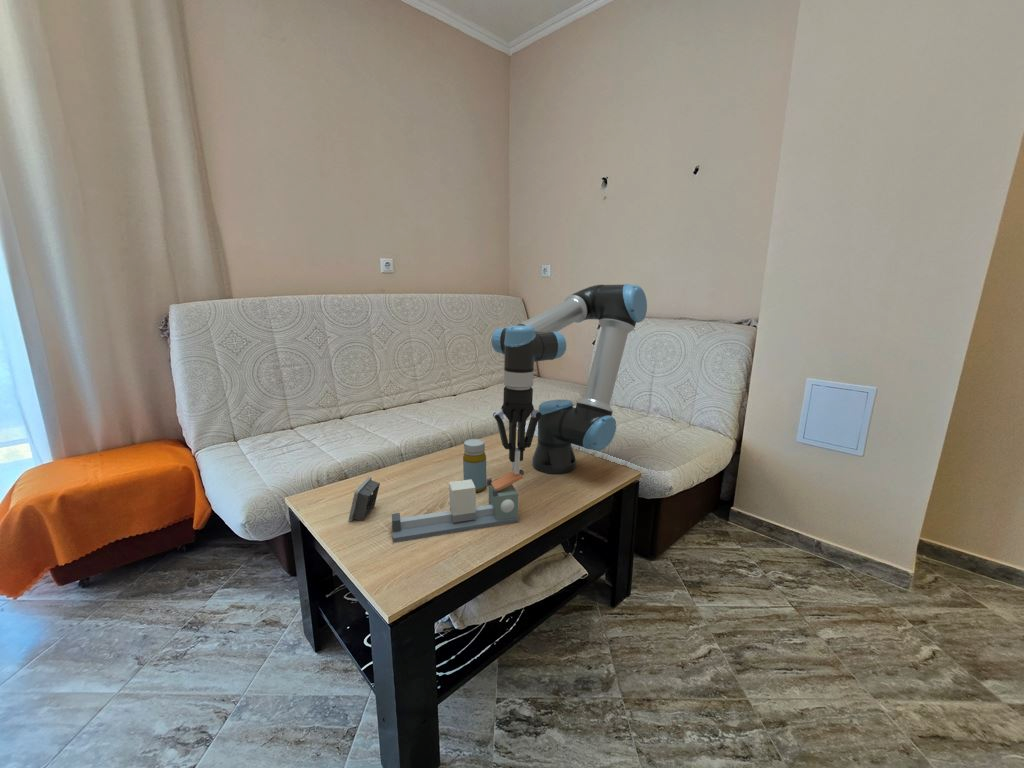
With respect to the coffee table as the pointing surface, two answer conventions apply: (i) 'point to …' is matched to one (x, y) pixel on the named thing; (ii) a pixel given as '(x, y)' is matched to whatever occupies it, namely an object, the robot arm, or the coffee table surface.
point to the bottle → (475, 463)
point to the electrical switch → (364, 499)
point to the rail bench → (441, 523)
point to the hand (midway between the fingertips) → (515, 472)
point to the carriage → (462, 500)
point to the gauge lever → (507, 480)
